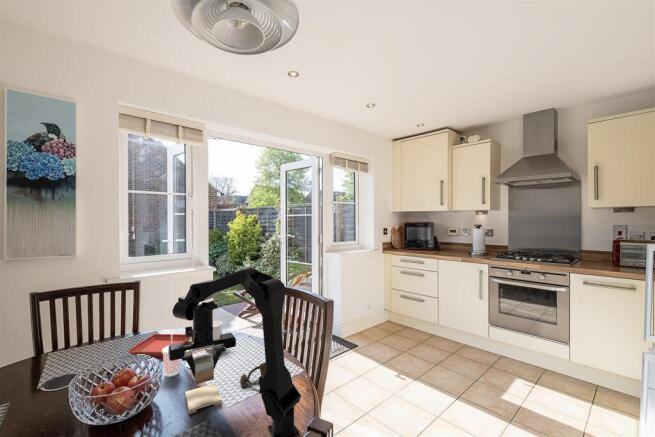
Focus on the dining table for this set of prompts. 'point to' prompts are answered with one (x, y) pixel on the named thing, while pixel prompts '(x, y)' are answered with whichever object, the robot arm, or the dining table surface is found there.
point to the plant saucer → (157, 344)
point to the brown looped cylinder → (246, 379)
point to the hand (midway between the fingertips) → (203, 373)
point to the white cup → (216, 331)
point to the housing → (203, 368)
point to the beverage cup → (170, 363)
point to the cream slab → (202, 397)
